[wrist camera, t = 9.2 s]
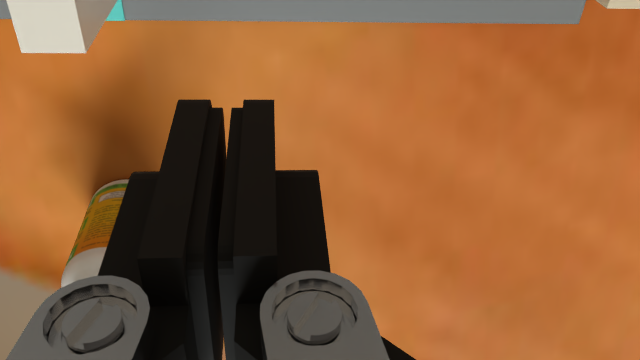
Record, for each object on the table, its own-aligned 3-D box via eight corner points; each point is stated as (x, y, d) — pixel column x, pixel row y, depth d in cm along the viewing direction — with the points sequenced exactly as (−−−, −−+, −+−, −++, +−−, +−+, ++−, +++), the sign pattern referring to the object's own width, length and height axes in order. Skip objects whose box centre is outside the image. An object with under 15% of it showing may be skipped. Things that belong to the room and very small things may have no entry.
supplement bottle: (83, 176, 35) (32, 294, 28) (171, 175, 36) (146, 291, 28) (99, 240, 38) (57, 363, 31) (180, 239, 39) (159, 358, 31)
